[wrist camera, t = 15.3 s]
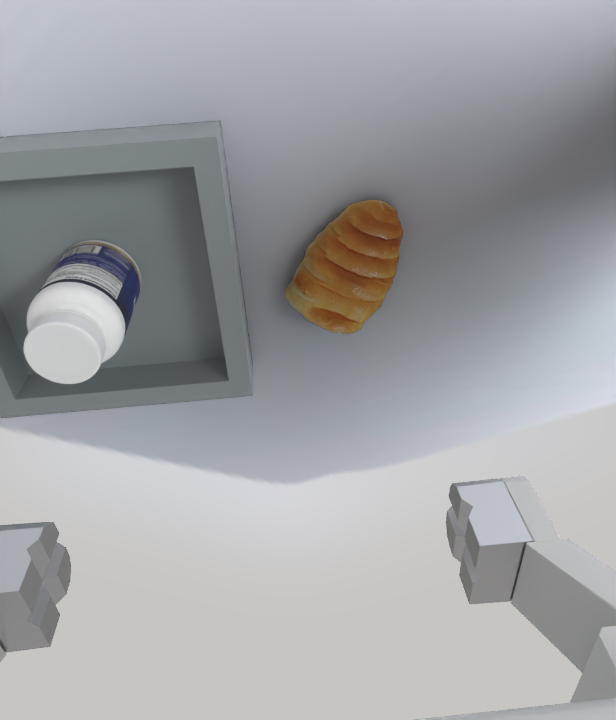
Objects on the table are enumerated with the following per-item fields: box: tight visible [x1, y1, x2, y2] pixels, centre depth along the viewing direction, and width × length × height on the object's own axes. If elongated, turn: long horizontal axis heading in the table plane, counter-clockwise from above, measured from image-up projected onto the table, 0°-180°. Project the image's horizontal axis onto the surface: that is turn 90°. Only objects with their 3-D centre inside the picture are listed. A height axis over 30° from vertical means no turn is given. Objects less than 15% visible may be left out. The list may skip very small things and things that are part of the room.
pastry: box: [285, 199, 403, 334], centre depth 39 cm, size 9×7×4 cm
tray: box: [0, 121, 253, 418], centre depth 38 cm, size 18×18×4 cm
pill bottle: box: [23, 240, 141, 384], centre depth 35 cm, size 5×5×10 cm
